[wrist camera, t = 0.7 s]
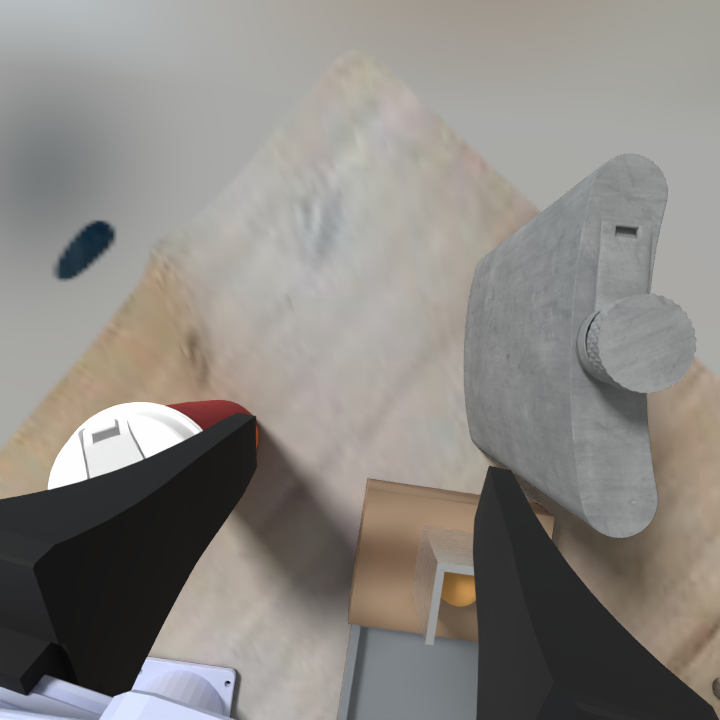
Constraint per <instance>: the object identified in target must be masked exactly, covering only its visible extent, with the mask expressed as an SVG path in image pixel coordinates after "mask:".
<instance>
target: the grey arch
mask: <svg viewBox="0 0 720 720" xmlns="http://www.w3.org/2000/svg"><path fill="white" fill-rule="evenodd" d="M473 533H474V532H468V531H462V530H455V529H448V528H441V527H435V526H428V525H422V528H421V535H420V541H419V548H418V555H417V561H416V568H415V574H414V581H413V587H412V594H413V598H414V602H415V606H416V610H417V614H418V618H419V622H420V626H421V630H422V634H423V638H424V641H425V644H428V645H433V644H434V638H435V631H436V624H437V618H438V611H439V605H440V598H441V592H442V585H443V579H444V572H452V573H459V574H466V575H473V576H474V565H473Z"/></svg>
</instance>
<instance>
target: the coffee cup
mask: <svg viewBox="0 0 720 720" xmlns="http://www.w3.org/2000/svg"><path fill="white" fill-rule="evenodd" d="M236 413H243V414H248V415H251V414H250V413H249V412H248V411H247V410H246V409H245V408H244V407H242V406H241V405H239V404H236V403H234V402H231V401H225V400H211V401H200V402H186V403H180V404H173V405H159V404H155V403H145V402H135V403H125V404H121V405H117V406H113V407H111V408H108V409H106V410H104V411H101V412H99V413H98V414H96V415H95V416H93V417H91V418H90V419H88V420H87V421H86V422H85V423H84V424H83V425H82V426H80V427H79V428H78V430H77V431H76V432H75V433H74V434H73V435H72V437H71V438H70V440H69V441H68V442H67V443H66V445H65V446H64V447H63V448H62V450H61V451H60V453H59V455H58V456H57V458H56V460H55V463H54V465H53V468H52V470H51V474H50V478H49V483H48V490H50V489H54V488H58V487H62V486H66V485H70V484H73V483H77V482H80V481H83V480H87V479H90V478H93V477H96V476H99V475H103V474H106V473H109V472H112V471H115V470H118V469H120V468H123V467H126V466H128V465H131V464H133V463H136V462H138V461H141V460H143V459H146V458H148V457H150V456H153V455H155V454H157V453H159V452H161V451H163V450H165V449H167V448H170V447H172V446H174V445H176V444H178V443H180V442H182V441H184V440H186V439H188V438H190V437H192V436H194V435H196V434H198V433H199V432H201V431H203V430H205V429H207V428H209V427H211V426H213V425H214V424H216V423H218V422H220V421H222V420H224V419H226V418H228V417H229V416H231V415H234V414H236ZM258 440H259V434H258V428H257V425H256V450H257V446H258Z"/></svg>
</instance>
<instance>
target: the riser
mask: <svg viewBox="0 0 720 720" xmlns="http://www.w3.org/2000/svg"><path fill="white" fill-rule="evenodd" d="M480 496H481V495H476V494H469V493H462V492H456V491H449V490H442V489H435V488H429V487H422V486H415V485H408V484H402V483H395V482H388V481H381V480H375V479H368V478H367V484H366V490H365V497H364V504H363V510H362V517H361V523H360V530H359V536H358V543H357V549H356V556H355V562H354V569H353V576H352V582H351V589H350V595H349V606H348V624H355V625H362V626H369V627H376V628H383V629H390V630H397V631H404V632H411V633H418V634H422V630H421V626H420V622H419V618H418V614H417V610H416V606H415V602H414V598H413V594H412V587H413V581H414V574H415V568H416V561H417V555H418V548H419V541H420V535H421V528H422V525H428V526H435V527H441V528H448V529H455V530H462V531H468V532H474V518H475V514H476V511H477V507H478V504H479V500H480ZM529 504H530V506H531V508H532V509H533V511H534V513H535V515H536V516H537V518H538V519H539V521H540V523H541V524H542V526H543V528H544V529H545V531H546V532H547V534H548V535H549V537H550V538H551V539H552V533H553V526H554V520H555V517H554V516H553V515H552V514H550V513H549V512H548V511H547V510H545V509H544V508H543V507H541V506H540V505H539V504H536V503H530V502H529ZM435 636H439V637H446V638H453V639H460V640H467V641H474V642H478V622H477V608H476V601H474V602H473V603H472V604H470V605H467V606H462V607H459V606H454V605H451V604H449V603H447V602H446V601H444V600H443V599H442V598H440V605H439V611H438V618H437V624H436V631H435Z"/></svg>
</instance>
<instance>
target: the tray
mask: <svg viewBox="0 0 720 720" xmlns="http://www.w3.org/2000/svg"><path fill="white" fill-rule="evenodd" d="M477 687H478V642H474V641H467V640H460V639H453V638H446V637H439V636H435V638H434V644H433V645H428V644H425V641H424V638H423V634H418V633H411V632H404V631H397V630H390V629H383V628H376V627H369V626H362V625H355V624H351V630H350V636H349V643H348V649H347V656H346V662H345V669H344V676H343V682H342V689H341V695H340V702H339V708H338V715H337V720H476V715H477Z"/></svg>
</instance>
